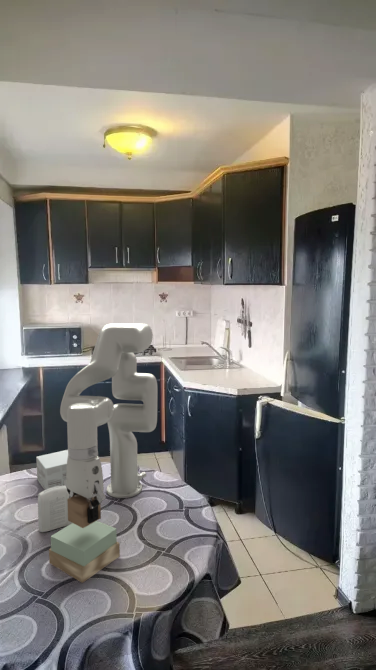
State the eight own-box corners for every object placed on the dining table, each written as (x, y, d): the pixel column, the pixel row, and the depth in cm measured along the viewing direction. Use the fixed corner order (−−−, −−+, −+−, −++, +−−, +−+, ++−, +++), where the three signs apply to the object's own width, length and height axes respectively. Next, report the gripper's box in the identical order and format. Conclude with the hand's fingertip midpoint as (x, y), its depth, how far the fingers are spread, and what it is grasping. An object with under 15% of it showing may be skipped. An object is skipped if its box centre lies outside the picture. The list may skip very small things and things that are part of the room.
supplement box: (79, 468, 173) (79, 446, 172) (91, 481, 162) (91, 457, 161) (36, 479, 164) (35, 455, 163) (46, 493, 153) (45, 468, 152)
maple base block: (87, 541, 125) (87, 526, 124) (119, 558, 117) (119, 542, 117) (49, 565, 114) (48, 549, 114) (82, 585, 107) (81, 568, 106)
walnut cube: (86, 511, 118) (85, 490, 118) (100, 518, 115) (100, 496, 114) (68, 520, 114) (67, 498, 113) (82, 528, 110) (82, 505, 109)
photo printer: (70, 518, 136) (69, 480, 135) (74, 524, 133) (73, 486, 131) (36, 528, 131) (35, 489, 129) (40, 534, 127) (39, 495, 126)
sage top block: (84, 528, 123) (84, 515, 123) (116, 542, 117) (116, 528, 117) (51, 550, 113) (50, 536, 113) (83, 566, 107) (83, 551, 106)
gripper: (116, 454, 110) (117, 521, 112) (73, 440, 120) (75, 501, 122) (93, 464, 104) (95, 534, 106) (50, 447, 114) (52, 512, 116)
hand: (84, 516), depth 114 cm, fingers closed on walnut cube, 6 cm apart
